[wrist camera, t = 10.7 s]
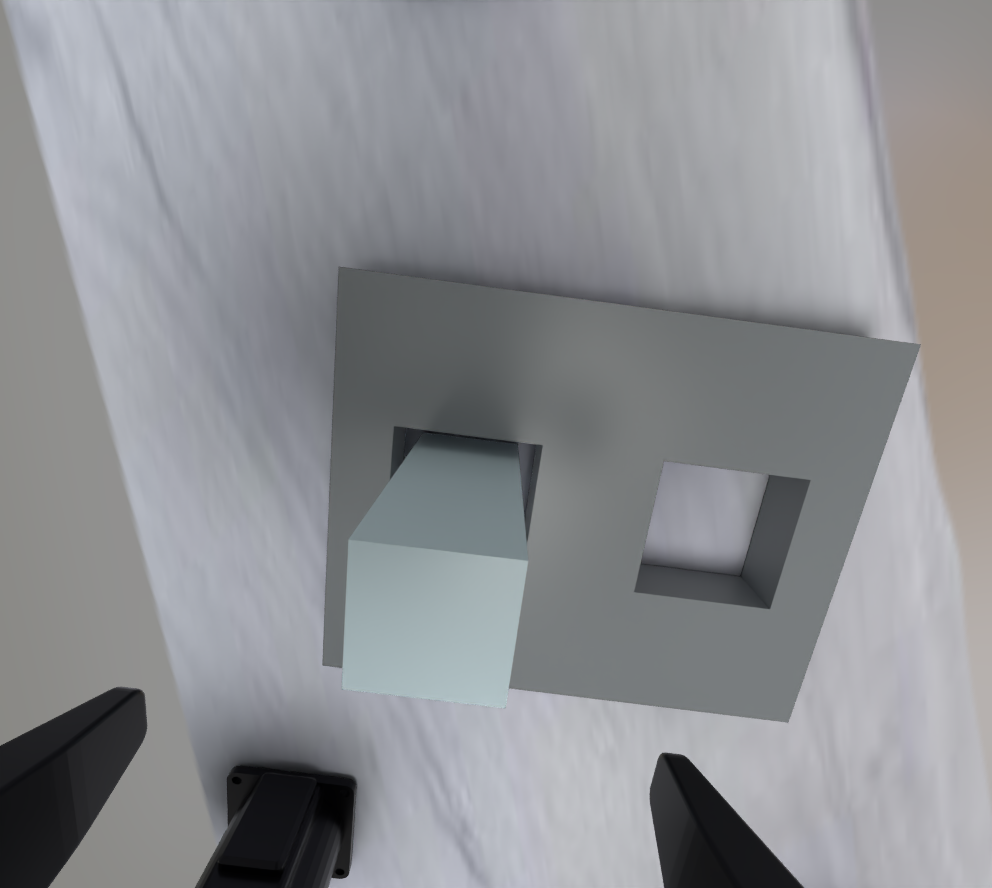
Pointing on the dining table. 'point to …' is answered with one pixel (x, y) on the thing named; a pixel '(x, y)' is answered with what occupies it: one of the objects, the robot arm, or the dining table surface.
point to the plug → (439, 576)
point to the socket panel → (623, 473)
